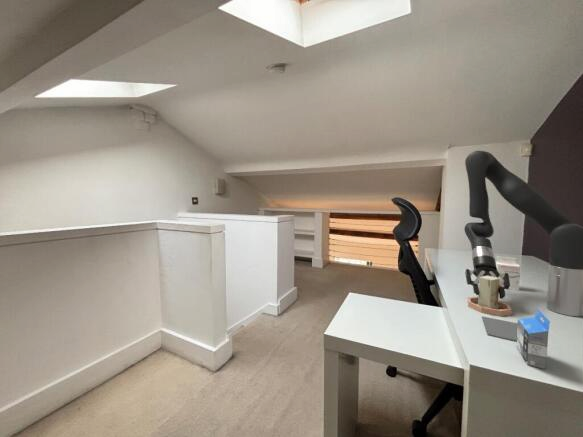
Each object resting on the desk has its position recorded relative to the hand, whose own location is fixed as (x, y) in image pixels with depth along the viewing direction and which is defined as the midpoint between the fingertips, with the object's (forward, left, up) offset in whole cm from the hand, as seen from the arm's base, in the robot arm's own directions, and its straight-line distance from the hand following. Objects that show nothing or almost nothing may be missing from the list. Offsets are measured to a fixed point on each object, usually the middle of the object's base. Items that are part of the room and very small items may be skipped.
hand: (489, 295), depth 92 cm
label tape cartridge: (-5, +31, -6) cm, 32 cm away
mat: (-3, +16, -5) cm, 18 cm away
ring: (0, -2, -5) cm, 6 cm away
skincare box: (0, -2, -6) cm, 6 cm away
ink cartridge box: (-11, -37, -6) cm, 39 cm away
